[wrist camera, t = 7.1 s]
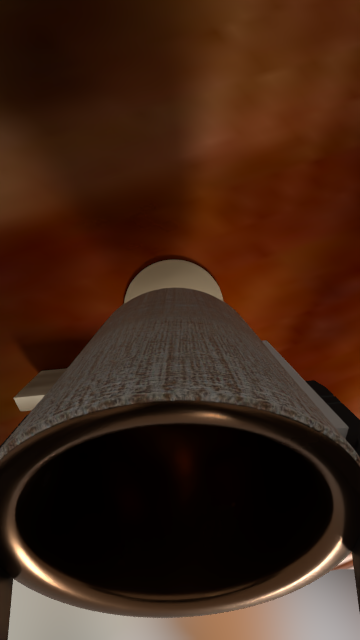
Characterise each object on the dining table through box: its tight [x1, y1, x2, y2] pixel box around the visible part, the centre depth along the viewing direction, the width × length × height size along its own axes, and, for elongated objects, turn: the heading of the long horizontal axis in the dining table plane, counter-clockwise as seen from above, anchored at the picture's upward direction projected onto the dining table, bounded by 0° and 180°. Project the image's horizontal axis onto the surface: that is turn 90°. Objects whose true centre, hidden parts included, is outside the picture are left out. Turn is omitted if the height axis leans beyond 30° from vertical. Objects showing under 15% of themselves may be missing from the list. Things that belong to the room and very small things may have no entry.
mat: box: [124, 259, 223, 304], centre depth 24 cm, size 12×12×1 cm
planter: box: [0, 287, 360, 618], centre depth 10 cm, size 11×11×10 cm
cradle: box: [14, 368, 67, 411], centre depth 27 cm, size 16×14×5 cm
